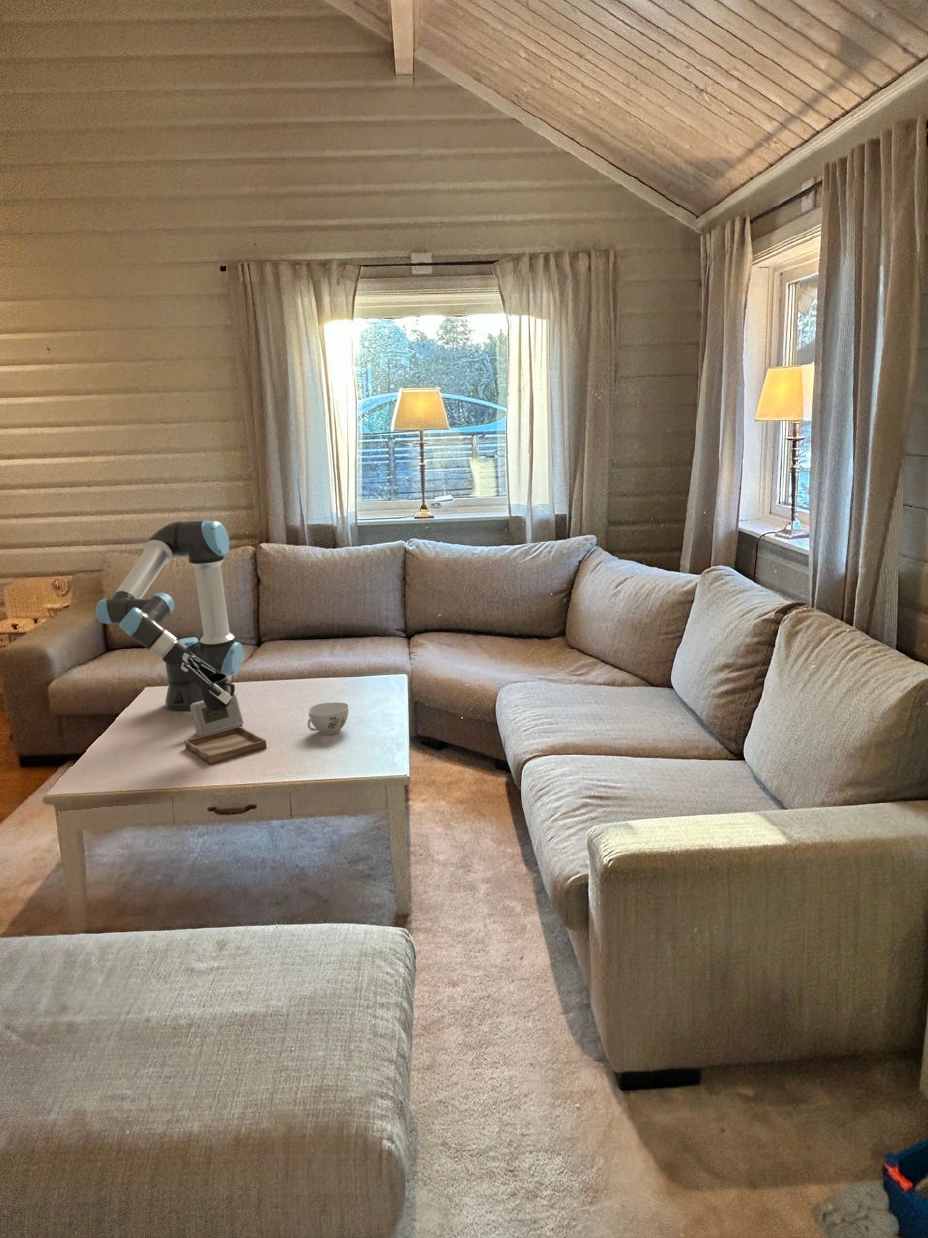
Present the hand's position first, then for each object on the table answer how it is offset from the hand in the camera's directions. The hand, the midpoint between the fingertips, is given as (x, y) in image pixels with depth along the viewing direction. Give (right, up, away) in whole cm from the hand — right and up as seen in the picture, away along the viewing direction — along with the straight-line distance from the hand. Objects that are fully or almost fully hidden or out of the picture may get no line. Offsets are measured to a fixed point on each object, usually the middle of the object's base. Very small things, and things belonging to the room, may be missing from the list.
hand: (230, 695), depth 266 cm
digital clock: (-9, -13, +20) cm, 25 cm away
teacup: (+27, -13, +13) cm, 33 cm away
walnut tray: (-2, -16, +3) cm, 17 cm away
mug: (-3, -4, 0) cm, 5 cm away
